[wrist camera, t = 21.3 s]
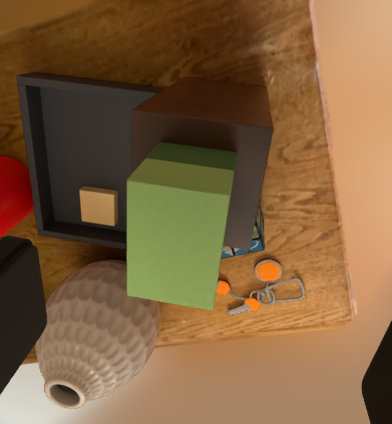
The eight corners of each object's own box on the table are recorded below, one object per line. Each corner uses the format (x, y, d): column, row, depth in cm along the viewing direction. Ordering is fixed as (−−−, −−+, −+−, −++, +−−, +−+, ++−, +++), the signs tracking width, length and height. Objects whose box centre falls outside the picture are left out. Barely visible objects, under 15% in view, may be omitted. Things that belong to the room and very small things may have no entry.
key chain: (295, 253, 41) (296, 257, 40) (308, 302, 43) (309, 307, 43) (191, 273, 44) (190, 277, 43) (209, 317, 47) (209, 322, 46)
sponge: (159, 141, 21) (126, 179, 15) (237, 151, 20) (230, 194, 15) (155, 236, 24) (126, 296, 18) (222, 247, 23) (212, 311, 18)
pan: (34, 72, 36) (16, 75, 33) (165, 88, 35) (157, 92, 32) (51, 222, 44) (37, 235, 41) (157, 239, 43) (150, 254, 40)
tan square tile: (83, 185, 40) (79, 189, 39) (117, 190, 40) (114, 194, 39) (86, 216, 42) (81, 221, 41) (118, 221, 42) (114, 226, 41)
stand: (183, 77, 34) (130, 109, 20) (266, 86, 33) (273, 128, 19) (177, 156, 38) (129, 231, 24) (252, 167, 37) (249, 250, 23)
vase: (188, 308, 47) (156, 433, 32) (107, 325, 51) (46, 445, 36) (146, 227, 42) (87, 331, 28) (60, 253, 46) (-32, 357, 32)
